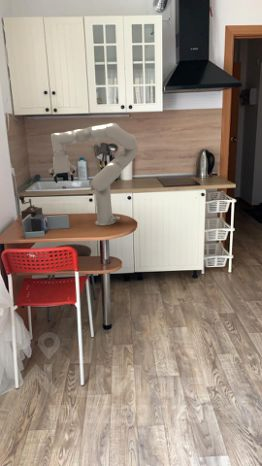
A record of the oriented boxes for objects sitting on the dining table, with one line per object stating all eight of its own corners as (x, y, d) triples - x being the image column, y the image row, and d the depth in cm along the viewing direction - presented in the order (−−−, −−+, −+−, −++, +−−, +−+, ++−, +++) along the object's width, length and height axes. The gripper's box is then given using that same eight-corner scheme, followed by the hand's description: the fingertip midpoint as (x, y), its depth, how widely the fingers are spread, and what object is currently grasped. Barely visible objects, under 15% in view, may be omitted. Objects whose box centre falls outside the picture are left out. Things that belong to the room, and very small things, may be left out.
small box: (42, 235, 222) (40, 218, 219) (32, 236, 224) (29, 218, 221) (49, 230, 232) (47, 213, 229) (39, 230, 234) (36, 214, 231)
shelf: (69, 227, 236) (67, 211, 233) (64, 235, 220) (62, 218, 217) (31, 229, 237) (29, 214, 234) (23, 238, 220) (21, 221, 218)
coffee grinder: (44, 220, 258) (41, 194, 252) (36, 225, 247) (32, 198, 242) (24, 220, 262) (20, 194, 257) (15, 225, 252) (11, 198, 246)
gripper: (75, 151, 232) (79, 179, 237) (46, 155, 232) (51, 182, 237) (73, 152, 225) (77, 181, 229) (44, 156, 225) (49, 184, 230)
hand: (64, 182), depth 233 cm, fingers open, 9 cm apart
